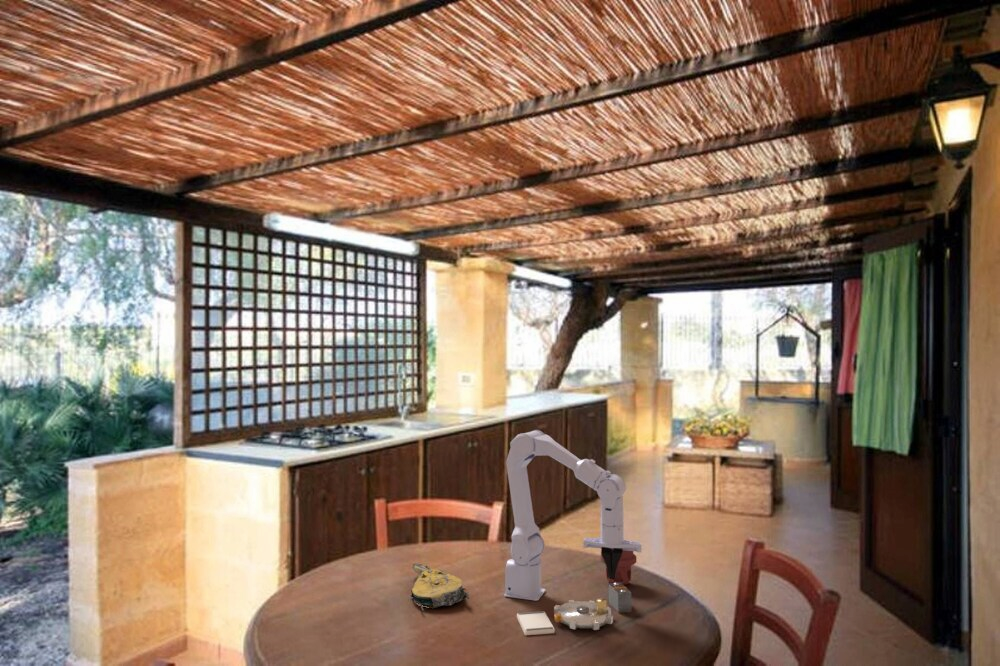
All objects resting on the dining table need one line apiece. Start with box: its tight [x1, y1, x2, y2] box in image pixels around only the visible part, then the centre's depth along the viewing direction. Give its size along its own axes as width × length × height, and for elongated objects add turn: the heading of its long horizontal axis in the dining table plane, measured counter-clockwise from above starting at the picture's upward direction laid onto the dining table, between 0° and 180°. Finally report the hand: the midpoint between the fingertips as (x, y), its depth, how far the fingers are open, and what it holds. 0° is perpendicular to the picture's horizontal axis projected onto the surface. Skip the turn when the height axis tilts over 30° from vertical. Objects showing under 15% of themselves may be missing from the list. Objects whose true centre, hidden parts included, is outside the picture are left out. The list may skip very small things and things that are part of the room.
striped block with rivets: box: [608, 582, 632, 613], centre depth 163 cm, size 7×4×5 cm, turn 10°
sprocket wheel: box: [553, 597, 614, 631], centre depth 154 cm, size 15×15×4 cm
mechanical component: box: [600, 550, 637, 586], centre depth 179 cm, size 12×10×10 cm
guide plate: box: [516, 610, 556, 636], centre depth 152 cm, size 10×7×1 cm
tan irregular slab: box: [410, 562, 470, 611], centre depth 173 cm, size 14×6×30 cm
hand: (612, 577), depth 160 cm, fingers closed
